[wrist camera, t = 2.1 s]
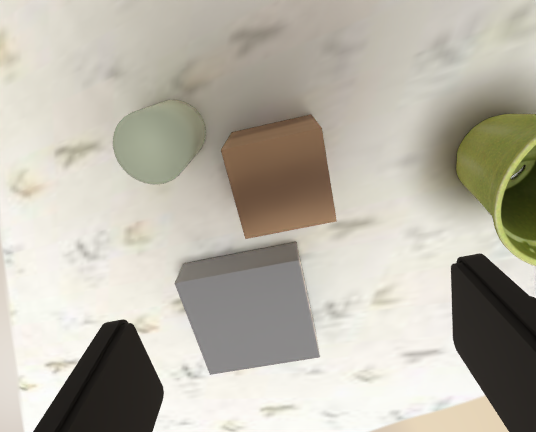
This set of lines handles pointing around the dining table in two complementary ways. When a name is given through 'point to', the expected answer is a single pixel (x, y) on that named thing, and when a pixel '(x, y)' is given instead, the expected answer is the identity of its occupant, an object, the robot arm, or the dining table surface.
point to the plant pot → (504, 177)
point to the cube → (279, 176)
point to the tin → (159, 141)
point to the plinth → (249, 308)
